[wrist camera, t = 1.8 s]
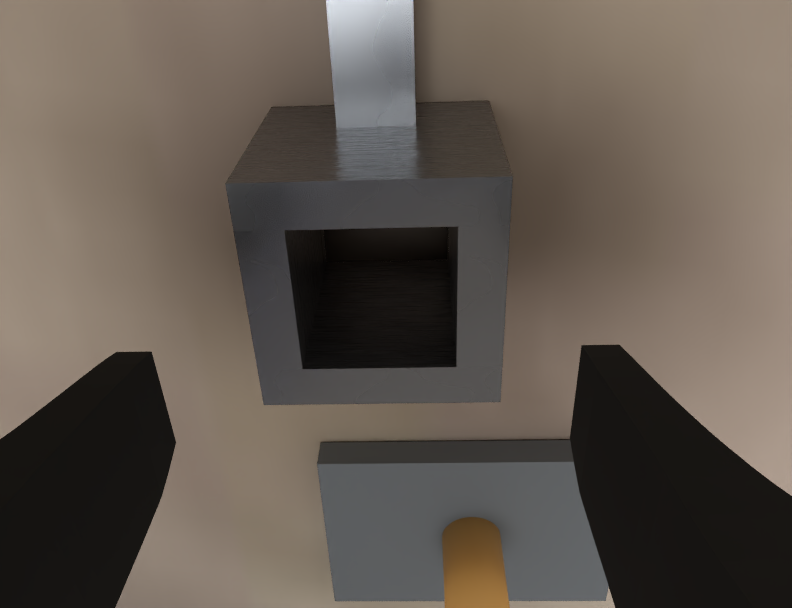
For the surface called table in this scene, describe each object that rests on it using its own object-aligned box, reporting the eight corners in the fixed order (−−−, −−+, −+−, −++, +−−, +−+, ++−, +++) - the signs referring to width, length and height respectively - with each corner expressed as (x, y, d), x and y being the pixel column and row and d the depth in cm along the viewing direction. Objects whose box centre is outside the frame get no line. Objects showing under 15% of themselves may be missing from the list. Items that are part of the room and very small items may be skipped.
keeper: (337, 578, 27) (324, 694, 23) (320, 442, 23) (302, 554, 20) (599, 577, 27) (630, 696, 23) (624, 439, 23) (666, 553, 19)
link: (295, 293, 20) (263, 404, 16) (248, -75, 15) (184, -53, 11) (482, 289, 20) (500, 402, 16) (495, -85, 15) (526, -66, 11)
